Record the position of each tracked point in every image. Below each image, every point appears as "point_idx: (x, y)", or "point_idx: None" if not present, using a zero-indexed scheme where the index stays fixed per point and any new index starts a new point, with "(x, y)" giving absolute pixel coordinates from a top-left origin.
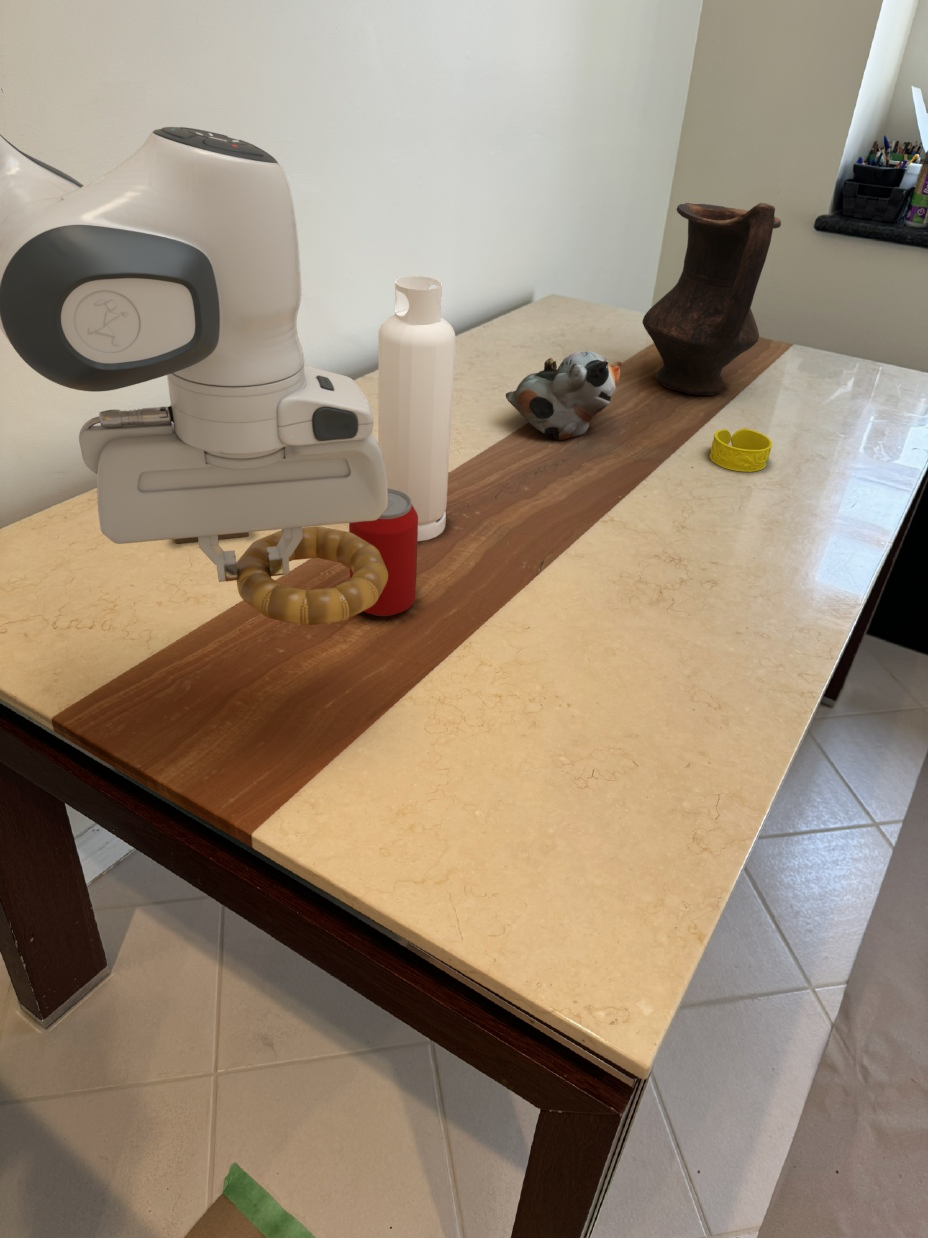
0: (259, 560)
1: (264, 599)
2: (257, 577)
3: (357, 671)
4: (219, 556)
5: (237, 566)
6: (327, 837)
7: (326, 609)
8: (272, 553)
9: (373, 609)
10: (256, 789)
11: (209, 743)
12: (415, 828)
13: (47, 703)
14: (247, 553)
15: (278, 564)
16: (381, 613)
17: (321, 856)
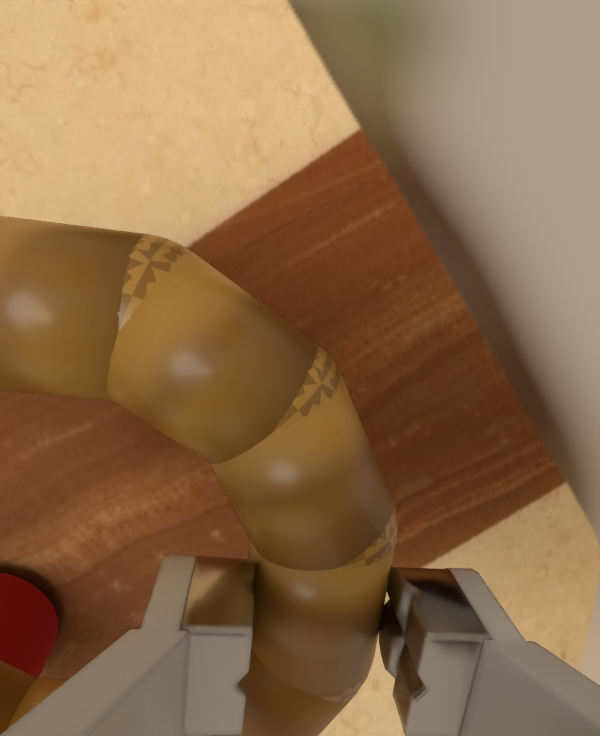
0: (282, 662)
1: (329, 385)
2: (330, 533)
3: (95, 447)
4: (539, 684)
5: (374, 649)
6: (250, 59)
7: (37, 226)
8: (223, 678)
9: (18, 588)
10: (334, 221)
11: (379, 352)
12: (88, 8)
13: (570, 509)
14: (321, 718)
15: (207, 600)
16: (6, 577)
17: (271, 19)
